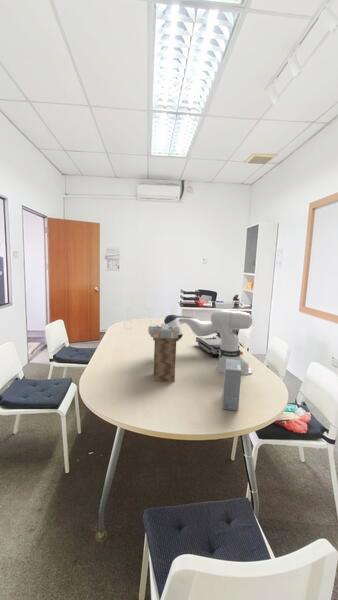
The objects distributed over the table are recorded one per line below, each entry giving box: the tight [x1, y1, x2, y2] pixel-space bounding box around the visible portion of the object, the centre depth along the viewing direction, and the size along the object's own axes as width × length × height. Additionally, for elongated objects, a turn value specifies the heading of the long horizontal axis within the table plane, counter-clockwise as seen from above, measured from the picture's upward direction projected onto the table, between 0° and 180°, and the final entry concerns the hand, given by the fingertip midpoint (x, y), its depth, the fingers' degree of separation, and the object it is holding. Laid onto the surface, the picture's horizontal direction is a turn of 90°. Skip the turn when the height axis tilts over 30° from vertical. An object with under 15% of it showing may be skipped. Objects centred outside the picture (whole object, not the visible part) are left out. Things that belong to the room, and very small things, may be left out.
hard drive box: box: [221, 359, 242, 412], centre depth 139 cm, size 16×8×20 cm, turn 168°
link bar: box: [160, 323, 172, 338], centre depth 167 cm, size 6×22×4 cm, turn 3°
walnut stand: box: [152, 332, 179, 383], centre depth 164 cm, size 14×13×26 cm
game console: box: [195, 335, 240, 358], centre depth 220 cm, size 21×32×8 cm, turn 19°
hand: (164, 326), depth 174 cm, fingers open, 7 cm apart
